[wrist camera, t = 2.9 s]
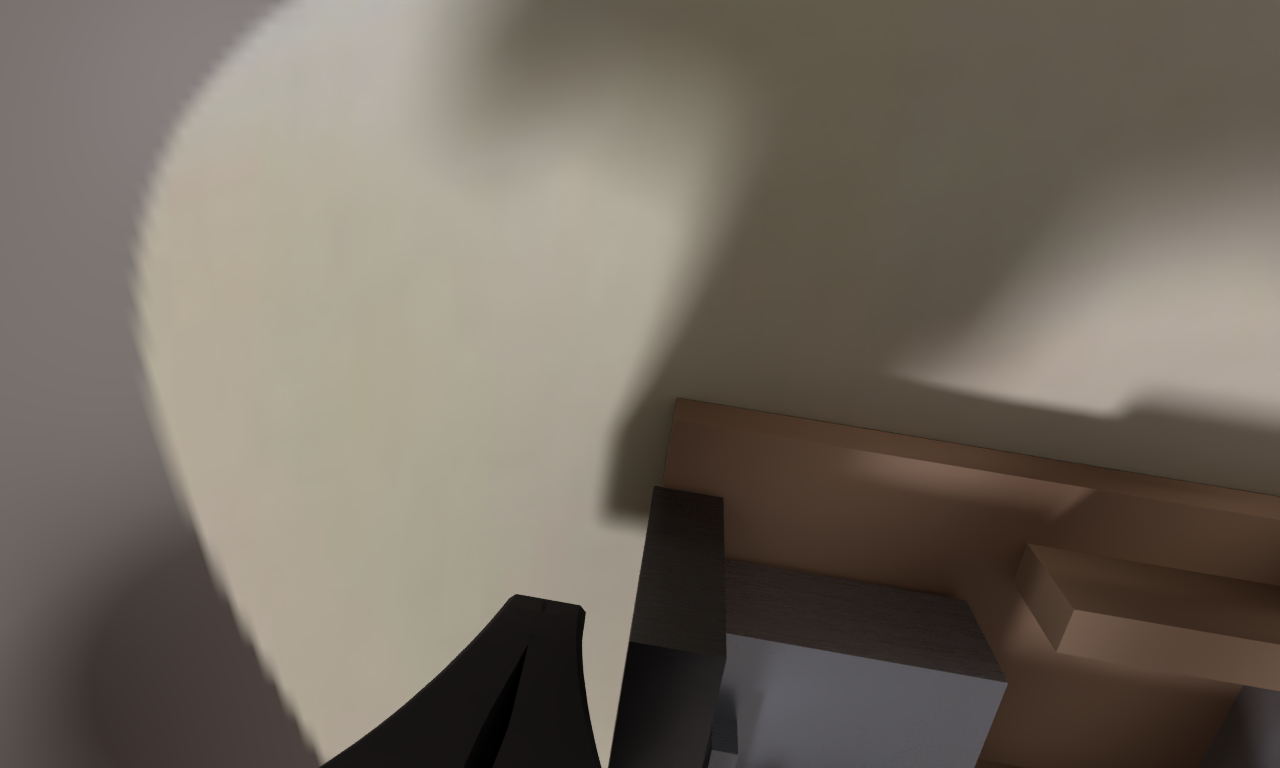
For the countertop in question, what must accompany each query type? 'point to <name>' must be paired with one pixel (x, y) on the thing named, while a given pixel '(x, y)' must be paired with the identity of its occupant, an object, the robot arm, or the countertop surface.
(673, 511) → the dark grey angled block
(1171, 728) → the miniature room diorama
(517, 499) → the countertop surface
